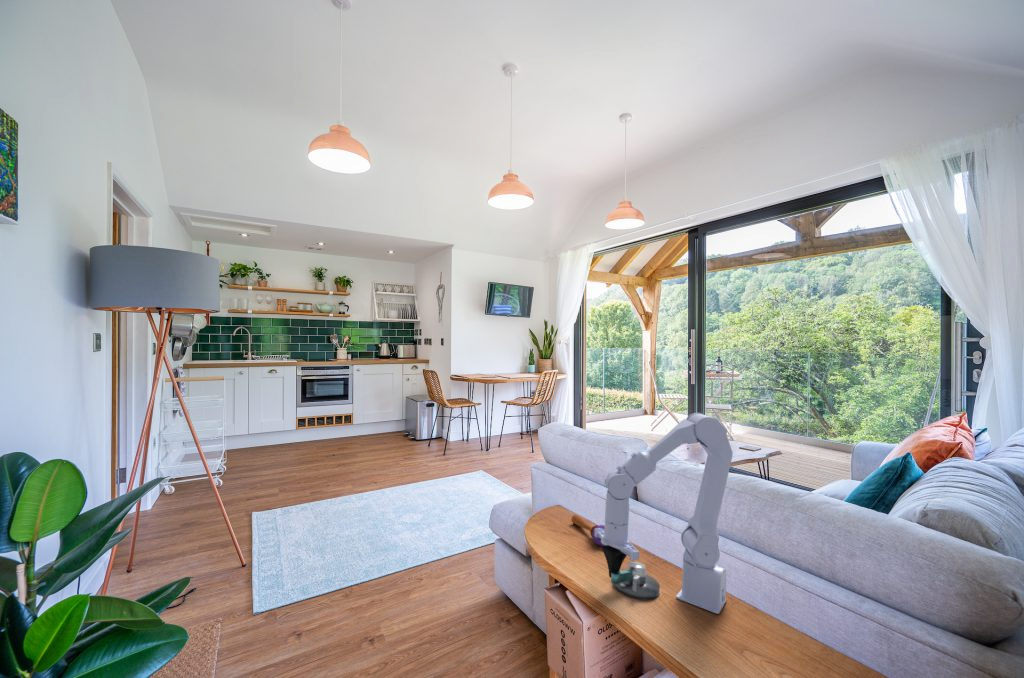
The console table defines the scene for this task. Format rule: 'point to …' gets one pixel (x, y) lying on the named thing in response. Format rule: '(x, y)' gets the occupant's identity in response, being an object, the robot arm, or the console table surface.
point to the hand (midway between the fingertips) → (613, 577)
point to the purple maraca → (588, 528)
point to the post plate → (639, 588)
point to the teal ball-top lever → (630, 573)
